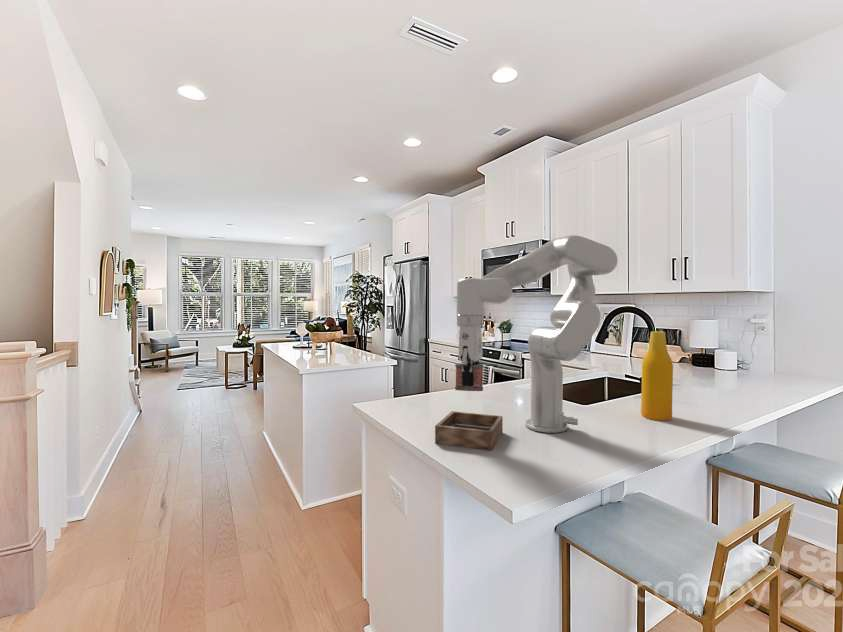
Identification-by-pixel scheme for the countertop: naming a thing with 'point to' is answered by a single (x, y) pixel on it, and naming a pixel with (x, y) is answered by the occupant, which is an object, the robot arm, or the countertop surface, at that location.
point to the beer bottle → (657, 380)
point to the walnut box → (469, 430)
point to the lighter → (477, 377)
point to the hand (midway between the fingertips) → (469, 383)
